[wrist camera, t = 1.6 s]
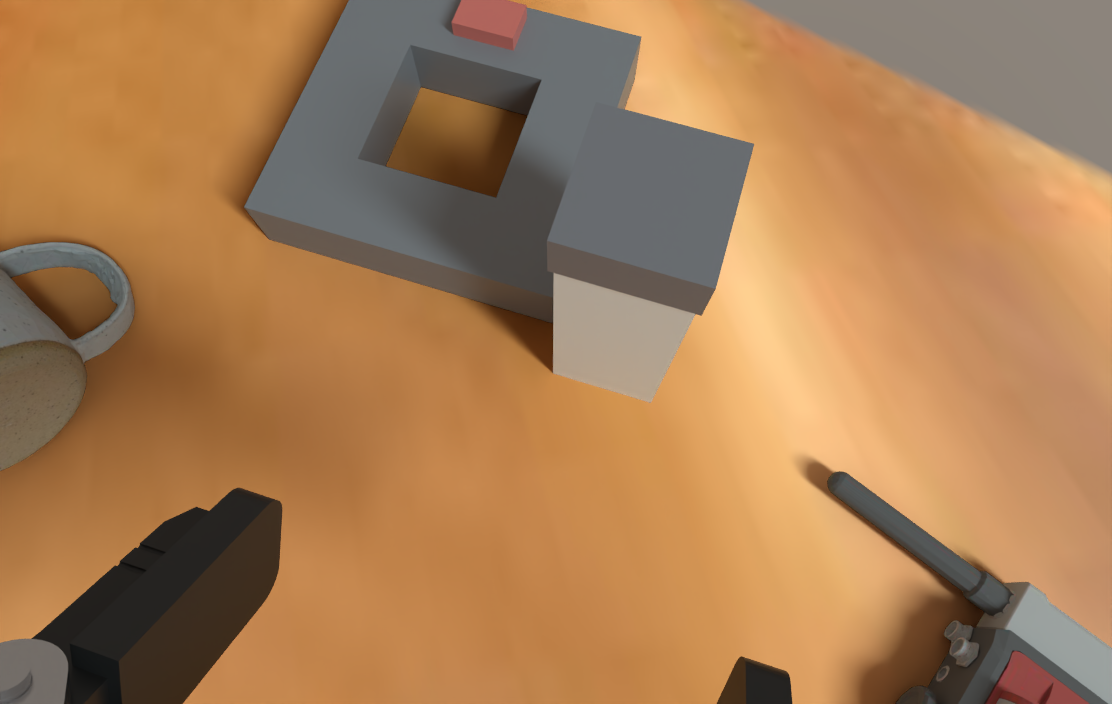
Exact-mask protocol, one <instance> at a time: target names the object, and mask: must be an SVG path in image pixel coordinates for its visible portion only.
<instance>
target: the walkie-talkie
mask: <svg viewBox="0 0 1112 704" xmlns="http://www.w3.org/2000/svg"><path fill="white" fill-rule="evenodd" d="M827 482H828V488H829V490H830V492H831V493H832V494H834V495H835V496H836V497H838V498H839V499H840V500H842V501H843V502H844V503H846V504H847V505H848V506H850V507H851V508H852V509H854V510H855V511H856V512H858V513H859V514H860V515H862V516H863V517H864V518H866V519H867V520H868V521H870V522H871V523H872V524H874V525H875V526H876V527H878V528H879V529H880V530H882V531H883V532H884V533H886V534H887V535H888V536H890V537H891V538H892V539H894V540H895V541H896V542H898V543H899V544H900V545H902V546H903V547H904V548H906V549H907V550H908V551H910V552H911V553H912V554H914V555H915V556H916V557H918V558H919V559H920V560H922V561H923V562H924V563H925V564H927V565H928V566H929V567H931V568H932V569H933V570H935V571H936V572H937V573H939V574H940V575H941V576H943V577H944V578H945V579H947V580H948V581H949V582H951V583H952V584H953V585H955V586H956V587H957V588H959V589H960V590H961V591H963V595H964V597H965V598H967V599H968V600H969V601H971V602H972V603H973V604H975V605H976V606H977V607H979V608H980V609H981V610H983V611H984V614H983V616H982V618H981V619H980V621H979V623H978V624H977V626H976V627H977V628H973V627H972V626H970V625H963V624H962V623H960V622H959V621H958V620H955V621H953V622H951V623H950V624H949V625H948V626H947V628H946V629H945V633H944V636H945V637H946V638H947V639H949V640H950V641H951V647H950V651H949V652H948V654H947V656H946V657H945V659H944V661H943V662H942V664H941V666H940V668H939V669H938V671H937V673H936V674H935V676H934V678H933V679H932V681H931V683H930V684H929V686H928V688H927V687H924V686H915V687H912V688H911V689H909V690H908V691H907V692H906V693H904V694H903V695H902V696H901V697H900V699H899V700H898V701H897V703H896V704H1112V648H1111V647H1110V646H1108V645H1107V644H1106V643H1104V642H1103V641H1101V640H1100V639H1099V638H1097V637H1096V636H1095V635H1093V634H1092V633H1091V632H1089V631H1088V630H1087V629H1085V628H1084V627H1082V626H1081V625H1080V624H1078V623H1077V622H1076V621H1074V620H1073V619H1072V618H1070V617H1069V616H1068V615H1066V614H1065V613H1064V612H1062V611H1061V610H1059V609H1058V608H1057V607H1055V606H1054V605H1053V604H1051V603H1050V602H1049V601H1048V599H1047V597H1046V595H1045V594H1044V593H1043V592H1041V591H1040V590H1039V589H1037V588H1036V587H1034V586H1033V585H1032V584H1030V583H1029V582H1015V583H1003V584H1002V583H1000V582H999V581H998V580H996V579H995V578H994V577H992V576H991V575H990V574H988V573H987V572H986V571H978V570H977V569H976V568H974V567H973V566H971V565H970V564H969V563H967V562H966V561H965V560H963V559H962V558H961V557H959V556H958V555H957V554H955V553H954V552H953V551H951V550H950V549H949V548H947V547H946V546H944V545H943V544H942V543H940V542H939V541H938V540H936V539H935V538H934V537H932V536H931V535H930V534H928V533H927V532H926V531H924V530H923V529H921V528H920V527H919V526H917V525H916V524H915V523H913V522H912V521H911V520H909V519H908V518H907V517H905V516H904V515H903V514H901V513H900V512H899V511H897V510H896V509H894V508H893V507H892V506H890V505H889V504H888V503H886V502H885V501H884V500H882V499H881V498H880V497H878V496H877V495H876V494H874V493H873V492H872V491H870V490H869V489H867V488H866V487H865V486H863V485H862V484H861V483H859V482H858V481H857V480H855V479H854V478H853V477H851V476H850V475H849V474H847V473H845V472H840V471H839V472H835V473H833V474H832V475H831V476H830V477H829V479H828V481H827Z"/></svg>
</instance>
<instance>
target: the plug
mask: <svg viewBox="0 0 1112 704" xmlns="http://www.w3.org/2000/svg"><path fill="white" fill-rule="evenodd" d="M753 146H754V144H752V143H748V142H745V141H741V140H737V139H733V138H730V137H726V136H722V135H718V134H715V133H711V132H707V131H703V130H700V129H696V128H692V127H688V126H685V125H681V124H677V123H673V122H670V121H666V120H662V119H658V118H655V117H651V116H647V115H643V114H640V113H636V112H632V111H628V110H625V109H621V108H617V107H613V106H609V105H606V104H602V103H598V102H596V103H595V106H594V109H593V112H592V115H591V118H590V120H589V123H588V126H587V129H586V132H585V134H584V137H583V140H582V143H581V146H580V149H579V151H578V154H577V157H576V160H575V163H574V166H573V168H572V171H571V174H570V177H569V180H568V183H567V185H566V188H565V191H564V194H563V197H562V199H561V202H560V205H559V208H558V211H557V214H556V216H555V219H554V222H553V225H552V228H551V231H550V233H549V236H548V239H547V271H549V272H552V273H554V282H553V373H554V374H557V375H560V376H564V377H567V378H570V379H574V380H577V381H580V382H583V383H587V384H590V385H593V386H597V387H600V388H603V389H607V390H610V391H613V392H617V393H620V394H623V395H626V396H630V397H633V398H636V399H640V400H643V401H646V402H650V403H651V402H652V400H653V398H654V396H655V394H656V392H657V390H658V388H659V386H660V384H661V382H662V380H663V378H664V376H665V374H666V372H667V370H668V368H669V366H670V364H671V362H672V360H673V358H674V356H675V354H676V352H677V350H678V348H679V346H680V344H681V342H682V340H683V338H684V336H685V334H686V332H687V330H688V328H689V326H690V324H691V322H692V320H693V318H694V316H695V314H697V315H702V314H703V312H704V310H705V308H706V306H707V304H708V302H709V300H710V298H711V296H712V295H713V293H714V291H715V289H716V285H717V281H718V278H719V274H720V270H721V266H722V263H723V259H724V255H725V251H726V248H727V244H728V240H729V236H730V233H731V229H732V225H733V221H734V218H735V214H736V210H737V206H738V203H739V199H740V195H741V191H742V188H743V184H744V180H745V176H746V173H747V169H748V165H749V161H750V158H751V154H752V150H753Z"/></svg>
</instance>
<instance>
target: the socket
mask: <svg viewBox="0 0 1112 704" xmlns="http://www.w3.org/2000/svg"><path fill="white" fill-rule="evenodd" d="M640 42H641V37H640V36H636V35H632V34H628V33H624V32H620V31H616V30H612V29H609V28H605V27H601V26H597V25H593V24H589V23H585V22H581V21H577V20H573V19H570V18H566V17H562V16H558V15H554V14H550V13H546V12H542V11H538V10H535V9H531V8H527V5H523V4H519V3H515V2H511V1H507V0H349V1H348V3H347V5H346V7H345V9H344V11H343V13H342V15H341V17H340V19H339V21H338V23H337V25H336V27H335V29H334V31H333V33H332V35H331V37H330V39H329V41H328V43H327V45H326V47H325V49H324V51H323V53H322V54H321V56H320V58H319V60H318V62H317V64H316V66H315V68H314V70H313V72H312V74H311V76H310V78H309V80H308V82H307V84H306V86H305V88H304V90H303V92H302V94H301V96H300V98H299V100H298V102H297V104H296V106H295V108H294V110H293V112H292V114H291V116H290V118H289V120H288V121H287V123H286V125H285V127H284V129H283V131H282V133H281V135H280V137H279V139H278V141H277V143H276V145H275V147H274V149H273V151H272V153H271V155H270V157H269V159H268V161H267V163H266V165H265V167H264V169H263V171H262V173H261V175H260V177H259V179H258V181H257V183H256V185H255V187H254V188H253V190H252V192H251V194H250V196H249V198H248V200H247V202H246V204H245V206H244V208H245V209H246V210H247V212H248V213H249V214H250V216H251V217H252V218H253V219H254V221H255V222H256V223H257V224H258V226H259V227H260V228H261V230H262V231H263V232H264V233H265V235H266V236H267V237H268V238H269V239H270V240H273V241H277V242H280V243H283V244H287V245H290V246H293V247H297V248H300V249H304V250H307V251H310V252H314V253H317V254H320V255H324V256H327V257H331V258H334V259H337V260H341V261H344V262H347V263H351V264H354V265H358V266H361V267H364V268H368V269H371V270H374V271H378V272H381V273H385V274H388V275H391V276H395V277H398V278H401V279H405V280H408V281H412V282H415V283H418V284H422V285H425V286H428V287H432V288H435V289H439V290H442V291H445V292H449V293H452V294H456V295H459V296H462V297H466V298H469V299H472V300H476V301H479V302H483V303H486V304H489V305H493V306H496V307H499V308H503V309H506V310H510V311H513V312H516V313H520V314H523V315H526V316H530V317H533V318H537V319H540V320H543V321H547V322H550V323H552V322H553V282H554V273H552V272H549V271H547V239H548V236H549V233H550V231H551V228H552V225H553V222H554V219H555V216H556V214H557V211H558V208H559V205H560V202H561V199H562V197H563V194H564V191H565V188H566V185H567V183H568V180H569V177H570V174H571V171H572V168H573V166H574V163H575V160H576V157H577V154H578V151H579V149H580V146H581V143H582V140H583V137H584V134H585V132H586V129H587V126H588V123H589V120H590V118H591V115H592V112H593V109H594V106H595V103H596V102H598V103H602V104H606V105H609V106H613V107H617V108H621V109H625V106H626V103H627V100H628V97H629V94H630V92H631V89H632V86H633V83H634V80H635V74H636V68H637V61H638V55H639V49H640ZM421 87H424V88H428V89H431V90H435V91H439V92H442V93H446V94H450V95H454V96H457V97H461V98H465V99H468V100H472V101H476V102H479V103H483V104H487V105H491V106H494V107H498V108H502V109H505V110H509V111H513V112H516V113H520V114H524V115H528V117H527V119H526V122H525V124H524V127H523V129H522V132H521V135H520V137H519V140H518V142H517V145H516V148H515V150H514V153H513V155H512V158H511V161H510V163H509V166H508V168H507V171H506V174H505V176H504V179H503V181H502V184H501V186H500V189H499V192H498V194H497V197H496V198H495V197H492V196H488V195H485V194H481V193H478V192H474V191H471V190H467V189H464V188H460V187H456V186H453V185H449V184H446V183H442V182H439V181H435V180H432V179H428V178H425V177H421V176H418V175H414V174H410V173H407V172H403V171H400V170H396V169H393V168H389V167H386V164H387V162H388V159H389V157H390V155H391V153H392V150H393V148H394V146H395V144H396V141H397V139H398V137H399V135H400V132H401V130H402V128H403V126H404V124H405V121H406V119H407V117H408V115H409V112H410V110H411V108H412V106H413V103H414V101H415V99H416V97H417V94H418V92H419V90H420V88H421Z"/></svg>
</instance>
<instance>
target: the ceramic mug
mask: <svg viewBox="0 0 1112 704" xmlns="http://www.w3.org/2000/svg"><path fill="white" fill-rule="evenodd" d="M54 267H73V268H82V269H85V270H88V271H89V272H91V273H94V274H96V276H97V277H98V278H99V279H100V280H101V281H102V282H103V283H104V285H105V286H106V287H107V288H108V289H109V291H110V292H111V297H110V298H111V299H112V301H113V302H114V303H116V304H117V305H118V306H117V308H116V310H115V311H114V312H113V313H112V314H111V316H110V318H108V319H107V320H106V321H104V322H103V323H102V324H100V325H99V326H98V327H96V328H95V329H94V330H93V331H90V332H88V333H86V334H84V335H83V336H82V337H80V338H77V339H74V340H72V339H69V338H68V337H67V336H66V334H65V333H64V332H63V331H62V330H61V329H60V328H59V327H58V326H57V325H56V324H55V323H54V322H53V321H52V320H51V319H50V318H49V317H48V316H47V315H46V314H45V313H44V312H42V311H41V310H40V309H39V308H38V307H37V306H36V305H35V304H34V303H33V302H32V301H31V300H30V299H29V297H28V296H27V295H26V294H25V293H24V292H23V291H22V290H21V289H20V288H19V287H18V286H17V285H16V283H15V282H14V281H13V280H12V279H11V278H12V277H15V276H18V275H21V274H26V273H29V272H31V271H37V270H40V269H46V268H54ZM134 310H135V306H134V299H133V295H132V291H131V287H130V283H129V281H128V279H127V277H126V275H125V274H124V273H123V271H122V269H121V268H120V267H119V266H118V265H117V264H116V263H115V262H114V260H112V259H111V258H110V257H108V256H107V255H106V254H104V253H102V252H101V251H99V250H97V249H94V248H92V247H89V246H85V245H81V244H75V243H66V242H48V243H38V244H31V245H25V246H19V247H15V248H12V249H8V250H5V251H2V252H0V471H1V470H4V469H6V468H9V467H11V466H13V465H14V464H16V463H18V462H20V461H22V460H24V459H26V458H27V457H29V456H30V455H32V454H33V453H34V452H36V451H37V450H39V449H40V448H41V447H43V446H44V445H45V444H47V443H48V442H49V441H50V440H51V439H52V438H53V437H55V436H56V435H57V434H58V433H59V432H60V430H61V429H62V428H63V427H64V426H65V425H66V423H67V422H68V421H69V420H70V419H71V418H72V416H73V415H74V413H75V412H76V410H77V408H78V406H79V404H80V403H81V400H82V397H83V394H84V392H85V388H86V380H87V372H86V368H85V365H84V362H85V361H88V360H89V359H91V358H93V357H96V356H98V355H99V354H101V353H103V352H105V351H107V350H108V349H109V348H110V347H111V346H112V345H113V344H114V343H115V342H116V341H117V340H119V339H120V338H121V337H122V336H123V335H124V334H125V333H126V331H127V330H128V329H129V327H130V325H131V323H132V320H133V318H134Z"/></svg>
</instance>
